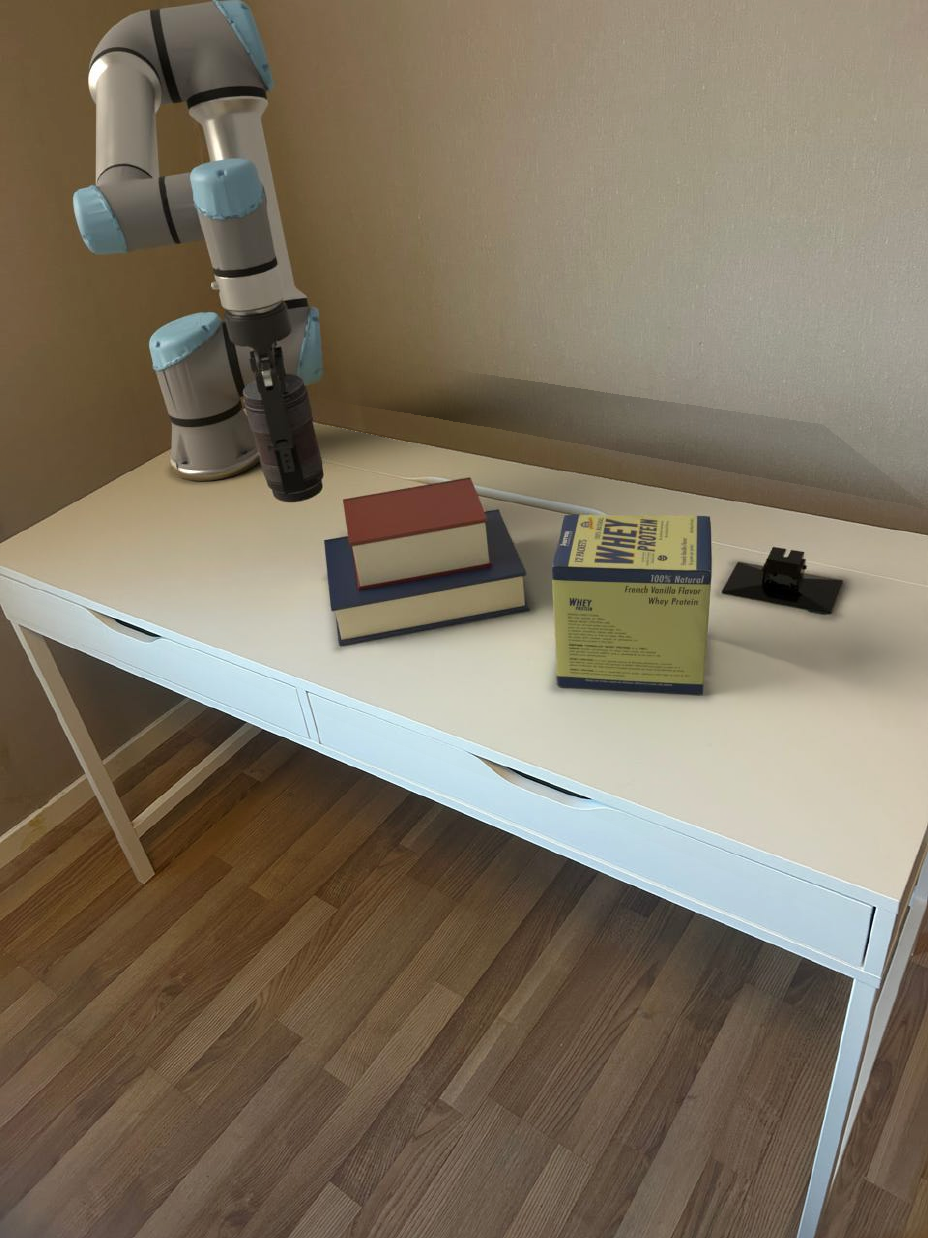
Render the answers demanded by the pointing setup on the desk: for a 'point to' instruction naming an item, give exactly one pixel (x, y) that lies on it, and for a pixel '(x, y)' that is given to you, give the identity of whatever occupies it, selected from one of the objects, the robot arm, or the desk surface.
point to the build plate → (784, 583)
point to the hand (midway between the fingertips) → (294, 475)
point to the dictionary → (417, 533)
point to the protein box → (632, 602)
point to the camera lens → (301, 434)
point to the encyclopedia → (425, 592)
